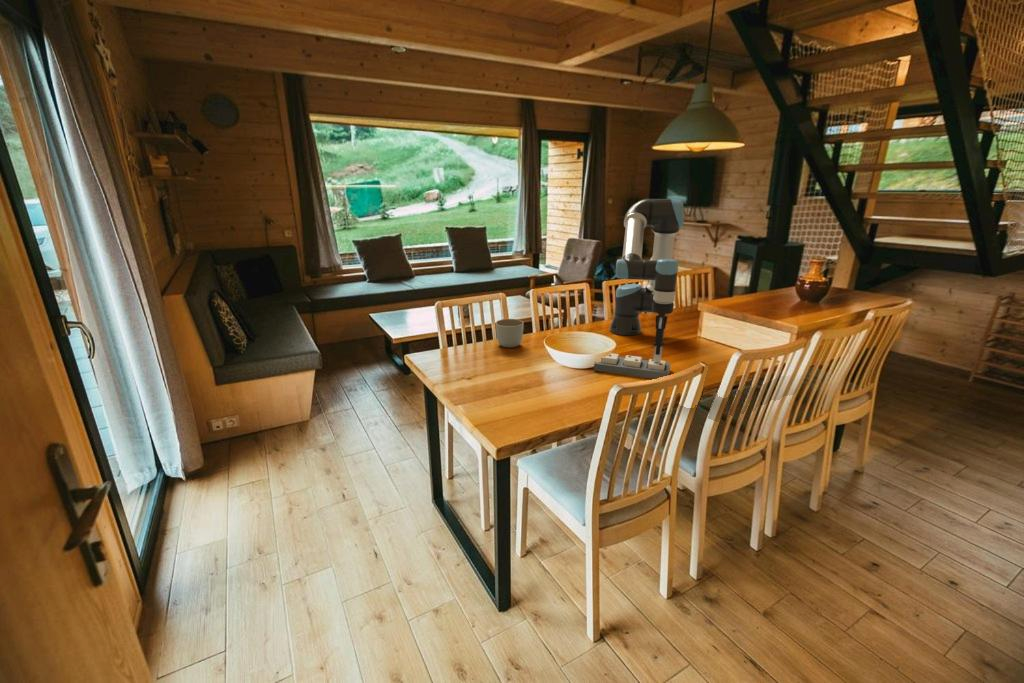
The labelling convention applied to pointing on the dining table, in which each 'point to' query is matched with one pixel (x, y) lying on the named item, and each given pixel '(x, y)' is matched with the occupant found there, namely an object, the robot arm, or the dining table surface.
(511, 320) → the planter
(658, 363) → the tile three pips
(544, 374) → the dining table surface
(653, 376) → the board
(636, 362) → the tile two pips
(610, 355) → the tile one pip
